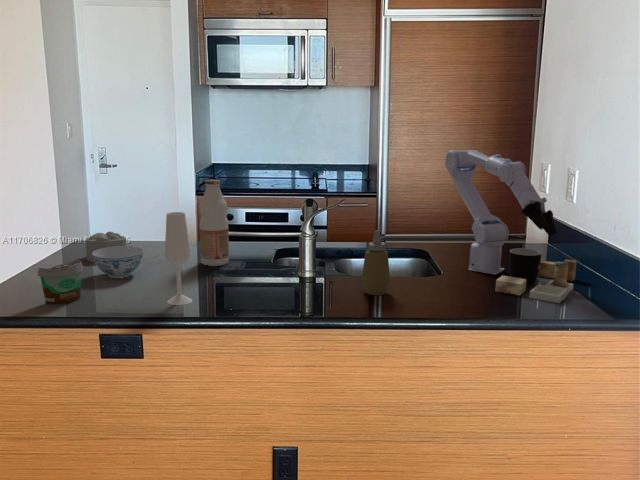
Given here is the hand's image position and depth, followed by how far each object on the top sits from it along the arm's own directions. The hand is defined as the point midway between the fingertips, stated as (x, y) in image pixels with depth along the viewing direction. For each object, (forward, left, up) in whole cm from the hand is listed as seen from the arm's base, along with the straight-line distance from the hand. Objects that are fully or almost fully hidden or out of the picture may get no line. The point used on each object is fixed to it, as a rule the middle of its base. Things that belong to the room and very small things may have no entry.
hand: (548, 231), depth 165 cm
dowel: (+3, +5, -18) cm, 19 cm away
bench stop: (-4, +18, -18) cm, 26 cm away
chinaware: (-110, -65, -18) cm, 129 cm away
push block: (-8, -5, -18) cm, 20 cm away
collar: (+3, +5, -18) cm, 19 cm away
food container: (-100, -88, -18) cm, 134 cm away
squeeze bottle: (-38, -31, -18) cm, 52 cm away
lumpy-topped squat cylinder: (-132, -54, -18) cm, 144 cm away
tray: (+3, -4, -18) cm, 19 cm away
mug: (-8, +5, -18) cm, 21 cm away
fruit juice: (-98, -36, -18) cm, 106 cm away
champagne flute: (-76, -70, -18) cm, 105 cm away
